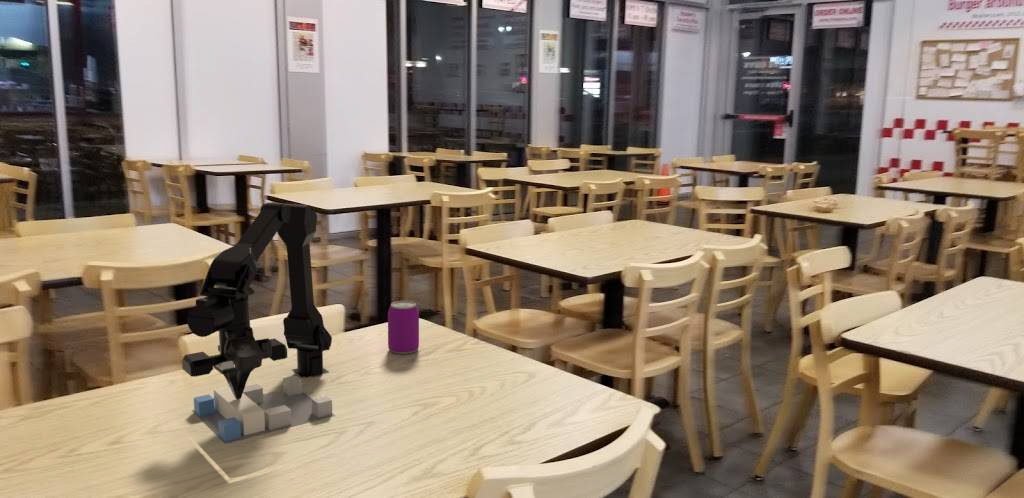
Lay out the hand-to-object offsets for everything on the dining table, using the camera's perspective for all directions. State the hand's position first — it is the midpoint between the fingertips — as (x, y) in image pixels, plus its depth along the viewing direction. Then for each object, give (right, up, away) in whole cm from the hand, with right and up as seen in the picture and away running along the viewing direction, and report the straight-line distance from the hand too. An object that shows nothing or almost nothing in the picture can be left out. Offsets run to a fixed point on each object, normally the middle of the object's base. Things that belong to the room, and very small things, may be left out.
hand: (237, 398), depth 160 cm
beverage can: (+26, +4, +46) cm, 53 cm away
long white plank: (0, -4, +1) cm, 4 cm away
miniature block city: (+4, -4, +4) cm, 7 cm away
